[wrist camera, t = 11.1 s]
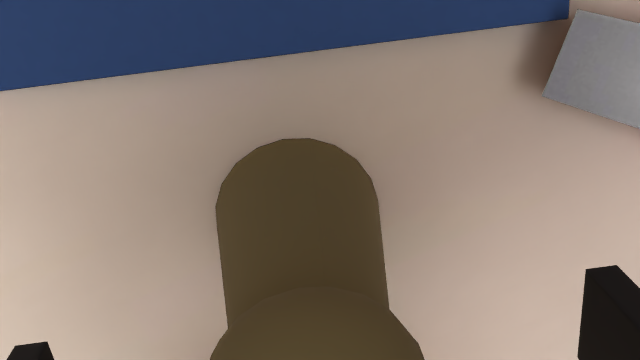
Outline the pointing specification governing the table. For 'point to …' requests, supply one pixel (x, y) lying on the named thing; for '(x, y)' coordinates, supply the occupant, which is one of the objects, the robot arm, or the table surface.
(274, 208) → the olive pawn figure
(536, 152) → the table surface
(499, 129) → the table surface
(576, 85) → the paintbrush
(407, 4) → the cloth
